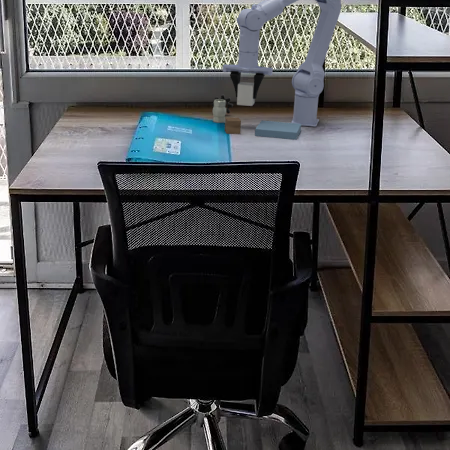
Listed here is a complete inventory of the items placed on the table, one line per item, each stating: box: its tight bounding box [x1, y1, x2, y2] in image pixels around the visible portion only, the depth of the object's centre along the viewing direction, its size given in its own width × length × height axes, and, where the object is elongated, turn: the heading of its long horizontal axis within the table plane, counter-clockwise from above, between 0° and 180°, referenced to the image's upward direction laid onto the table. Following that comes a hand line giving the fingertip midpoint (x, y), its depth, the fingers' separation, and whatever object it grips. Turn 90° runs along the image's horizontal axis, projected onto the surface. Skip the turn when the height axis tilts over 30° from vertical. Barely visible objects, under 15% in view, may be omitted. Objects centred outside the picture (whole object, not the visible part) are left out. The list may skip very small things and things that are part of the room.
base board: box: [254, 120, 302, 140], centre depth 243 cm, size 12×12×2 cm
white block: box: [236, 81, 256, 107], centre depth 245 cm, size 4×4×6 cm
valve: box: [211, 94, 234, 124], centre depth 257 cm, size 7×7×12 cm
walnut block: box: [224, 116, 242, 135], centre depth 241 cm, size 4×4×4 cm
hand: (246, 97), depth 246 cm, fingers closed on white block, 4 cm apart
